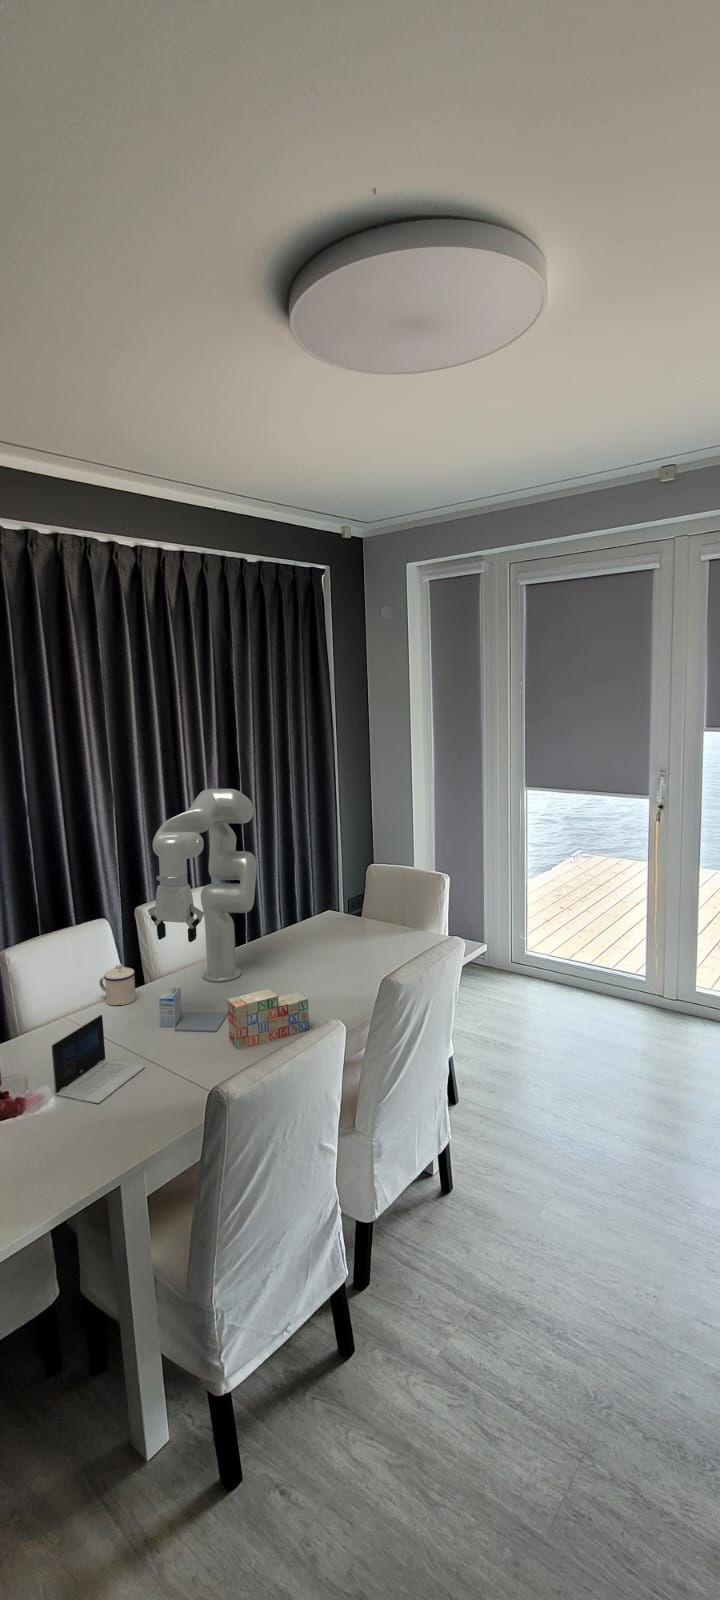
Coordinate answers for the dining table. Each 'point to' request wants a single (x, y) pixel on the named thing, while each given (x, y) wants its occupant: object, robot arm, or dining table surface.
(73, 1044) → the laptop
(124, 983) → the teacup with lid
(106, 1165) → the dining table surface
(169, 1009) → the medicine box
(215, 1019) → the mat
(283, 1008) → the stack of blocks
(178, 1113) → the dining table surface
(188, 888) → the robot arm
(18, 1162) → the dining table surface
